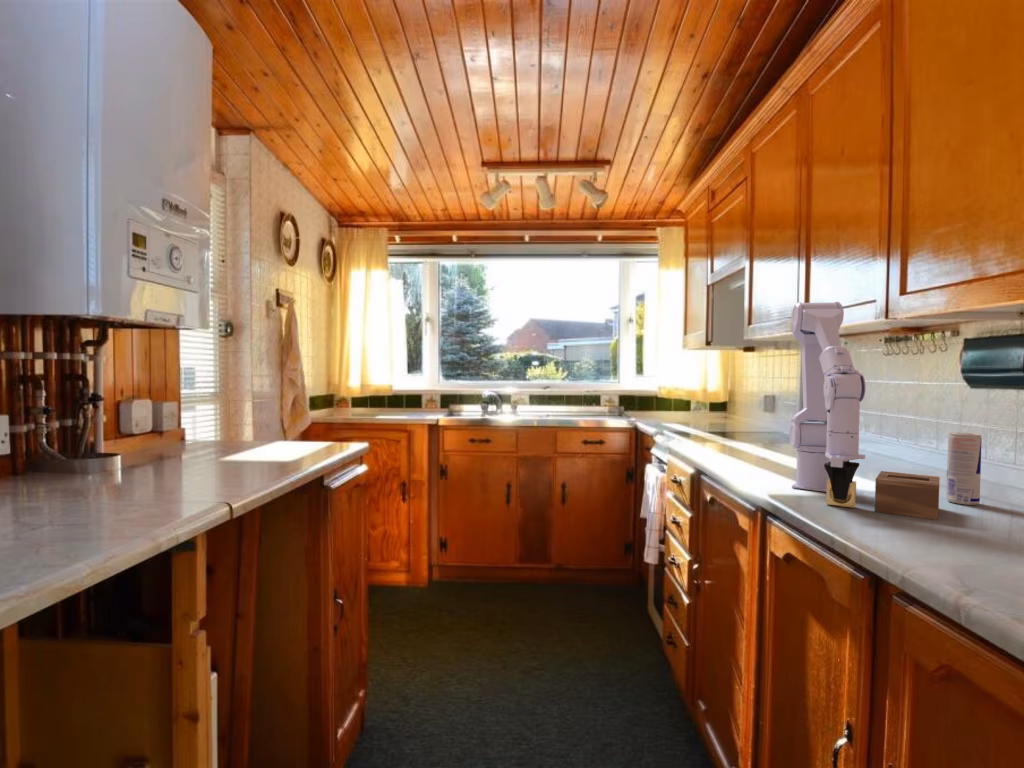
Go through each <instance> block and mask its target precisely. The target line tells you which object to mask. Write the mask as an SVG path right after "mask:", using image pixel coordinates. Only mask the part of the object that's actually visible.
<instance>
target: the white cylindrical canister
mask: <svg viewBox="0 0 1024 768" xmlns="http://www.w3.org/2000/svg"><path fill="white" fill-rule="evenodd" d="M947 434H948V437H947V459H946V461H947V462H946V463H947V464H946V492H945V493H946V494H945V495H946V496H945V497H946V499H945V500H947V501H949V502H951V503H952V504H957V505H962V506H963V505H964V506H976V505H979V504H980V502H981V501H980V500H981V470H982V469H981V468H982V467H981V466H982V434H979V433H973V432H961V431H959V432H958V431H957V432H956V431H952V432H949V431H948V433H947Z"/></svg>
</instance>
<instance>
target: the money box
mask: <svg viewBox="0 0 1024 768" xmlns="http://www.w3.org/2000/svg"><path fill="white" fill-rule="evenodd" d="M940 477H941V476H938V475H928V474H927V475H925V474H916V473H907V472H906V473H903V472H895V471H886V470H884V471H883V470H880V472H879V474H878V475H877V476H876V477H875V485H874V486H875V487H874V488H875V489H874V492H875V493H874V512H875V511H876V513H882V512H883V513H884V514H889V513H892V514H891V515H896V514H898V515H897V516H904V515H906V516H905V517H911V516H912V517H913V518H920V519H928V520H933V521H938V520H939V512H940V511H939V505H940Z"/></svg>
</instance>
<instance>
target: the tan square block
mask: <svg viewBox="0 0 1024 768" xmlns="http://www.w3.org/2000/svg"><path fill="white" fill-rule="evenodd" d="M825 493H826V499H825V500H826V501H825V505H831V506H837V507H845V508H853V509H855V508H856V505H857V503H856V502H857V481H854V480H852V481H850V485H849V490H848V495H847V498H846V500H840V499H834V497H833V493H832V487H831V482H830V479H827V492H825Z"/></svg>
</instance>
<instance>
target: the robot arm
mask: <svg viewBox="0 0 1024 768" xmlns="http://www.w3.org/2000/svg"><path fill="white" fill-rule="evenodd" d="M844 313H845V311H844V306H843V305H842V303H841V302H840V301H835V302H799V301H798V302H796V304H794V306H793V309H792V313H791V314H792V315H791V329H792V330H791V331H792V332H791V333H792V335H793V336H792V338H793V339H794V340H795V341H797V342H799V345H800V350H801V377H802V378H801V379H802V383H801V384H802V407H803V408H802V409H801V410H800V411H798V412H797V413H795V414H794V415H793V416H792V417H791V419H790V428H789V443H790V445H791V446H792V447H793V449H795V450H796V479H795V481H796V482H795V483H793V484H792V485H791V488H794V489H800V490H807V491H816V492H824V493H827V479H830V482H831V487H832V493H833V497H834V499H840V500H846V498H847V495H848V490H849V485H850V481H854V480H853V479H854V477H855V474H856V473H857V472H856V471H857V470H858V468H859V467H860V462H857V460H865V459H866V454H860V453H859V449H860V448H859V446H860V445H859V444H860V411H861V409H860V407H861V405H860V404H861V403H860V402H862V401H863V400H864V399H865V395H866V388H867V387H866V386H867V385H866V380H865V376H864V374H863V373H861V372H860V371H859V370H857V369H855V367H854V363H853V361H852V358H851V354H850V350H848V349H847V348H846V347H844V346H842V343H841V339H840V332H839V330H840V328H841V326H842V324H843V323H844V322H843V321H844ZM854 460H855V461H856V462H854Z"/></svg>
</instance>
